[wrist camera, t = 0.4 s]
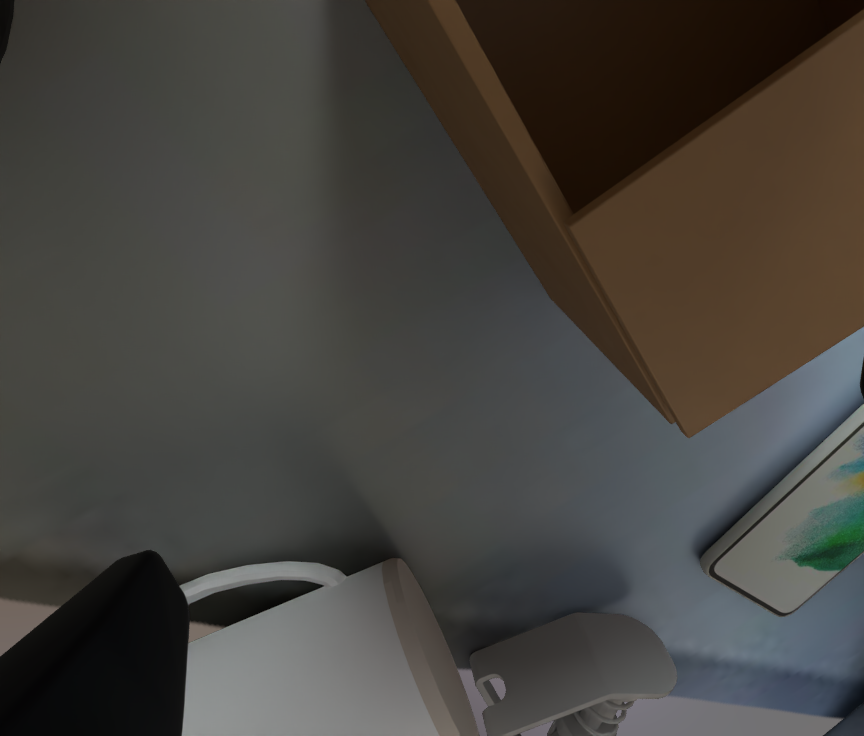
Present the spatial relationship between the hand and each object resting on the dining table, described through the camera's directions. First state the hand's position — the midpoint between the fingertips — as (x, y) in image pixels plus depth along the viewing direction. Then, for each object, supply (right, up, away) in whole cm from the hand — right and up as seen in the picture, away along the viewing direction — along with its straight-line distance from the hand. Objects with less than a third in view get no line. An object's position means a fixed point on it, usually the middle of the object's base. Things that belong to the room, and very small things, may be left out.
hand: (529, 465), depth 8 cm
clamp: (+4, -12, +21) cm, 24 cm away
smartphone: (+18, -4, +23) cm, 29 cm away
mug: (-1, -9, +17) cm, 19 cm away
